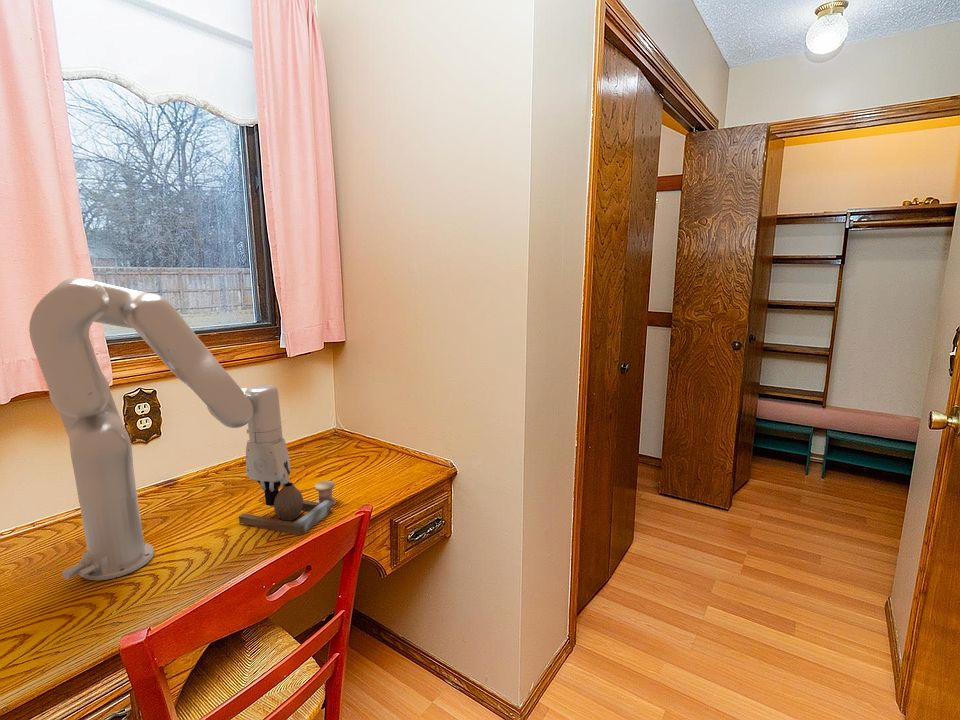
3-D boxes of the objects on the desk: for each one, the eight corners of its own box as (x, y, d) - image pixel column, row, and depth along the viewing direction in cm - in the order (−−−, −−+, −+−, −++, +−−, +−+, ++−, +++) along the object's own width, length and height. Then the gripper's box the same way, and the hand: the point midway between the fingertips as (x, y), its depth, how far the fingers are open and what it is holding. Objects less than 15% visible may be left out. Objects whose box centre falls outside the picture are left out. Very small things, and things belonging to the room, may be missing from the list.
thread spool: (328, 508, 128) (327, 489, 127) (312, 506, 129) (311, 487, 128) (339, 500, 133) (338, 481, 132) (322, 498, 134) (321, 479, 133)
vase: (268, 519, 122) (267, 487, 120) (288, 507, 128) (287, 476, 126) (290, 526, 119) (289, 493, 118) (309, 513, 126) (309, 481, 124)
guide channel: (300, 535, 115) (300, 523, 115) (239, 523, 121) (238, 512, 120) (331, 511, 127) (330, 500, 126) (273, 502, 132) (272, 491, 131)
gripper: (229, 437, 120) (237, 506, 124) (281, 442, 116) (288, 514, 119) (252, 427, 127) (259, 493, 131) (301, 432, 123) (307, 500, 126)
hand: (272, 503), depth 125 cm, fingers closed
